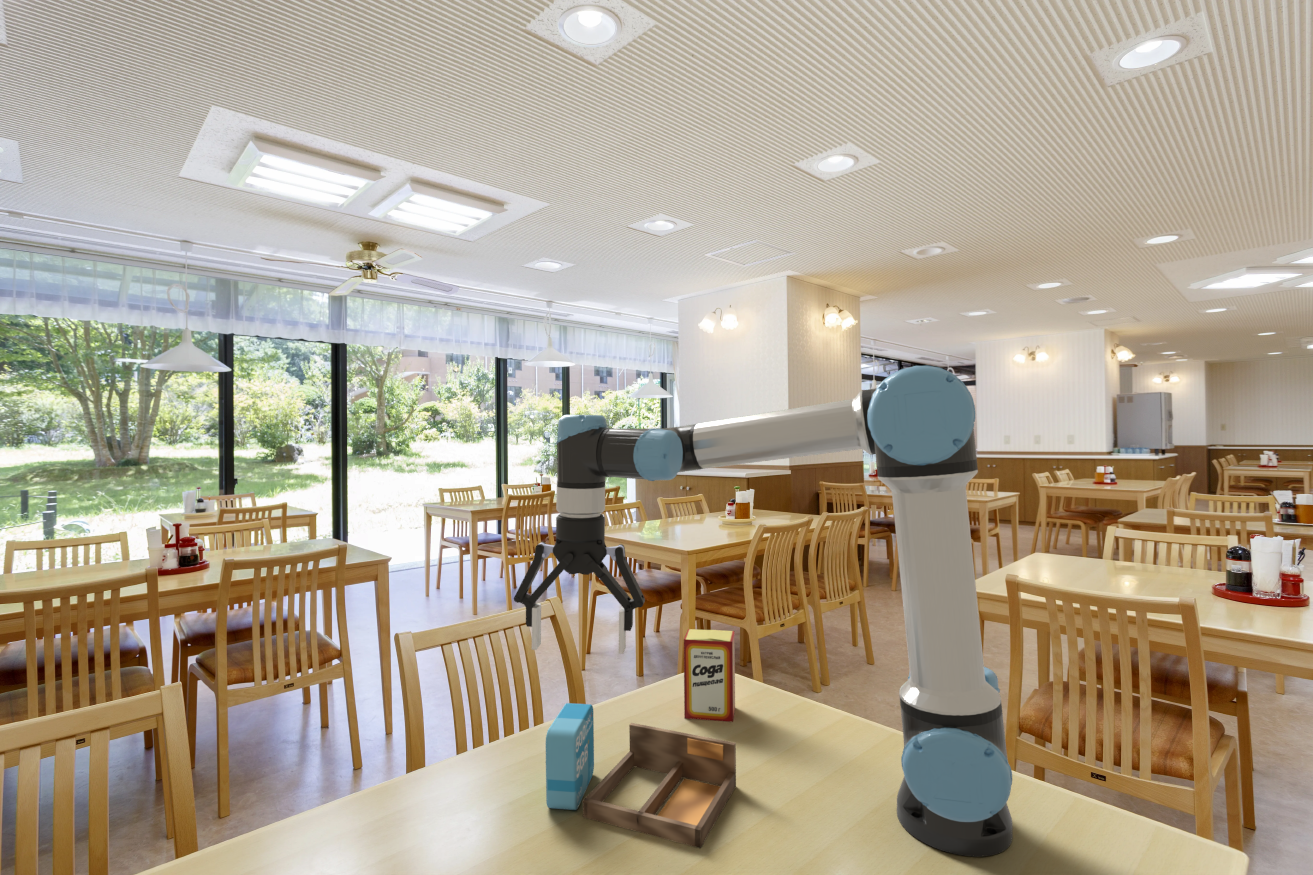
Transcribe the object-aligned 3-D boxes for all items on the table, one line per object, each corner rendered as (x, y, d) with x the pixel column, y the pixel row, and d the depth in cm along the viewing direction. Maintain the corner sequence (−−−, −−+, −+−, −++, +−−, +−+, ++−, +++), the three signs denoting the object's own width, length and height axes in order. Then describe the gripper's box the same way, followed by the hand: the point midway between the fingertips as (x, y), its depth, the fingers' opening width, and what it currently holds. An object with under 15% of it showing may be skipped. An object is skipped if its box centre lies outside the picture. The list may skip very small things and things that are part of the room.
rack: (736, 786, 105) (735, 742, 105) (700, 848, 90) (699, 797, 90) (631, 763, 112) (631, 722, 112) (582, 816, 97) (582, 769, 97)
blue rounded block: (575, 814, 98) (574, 734, 97) (546, 812, 98) (544, 733, 98) (594, 772, 110) (593, 700, 109) (568, 770, 110) (567, 699, 110)
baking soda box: (684, 718, 129) (683, 637, 129) (688, 704, 136) (688, 627, 135) (733, 721, 128) (732, 639, 127) (735, 707, 134) (734, 629, 134)
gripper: (662, 512, 105) (660, 643, 106) (509, 508, 107) (508, 637, 108) (658, 519, 98) (656, 661, 98) (494, 514, 100) (493, 653, 100)
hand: (578, 648), depth 103 cm, fingers open, 13 cm apart
